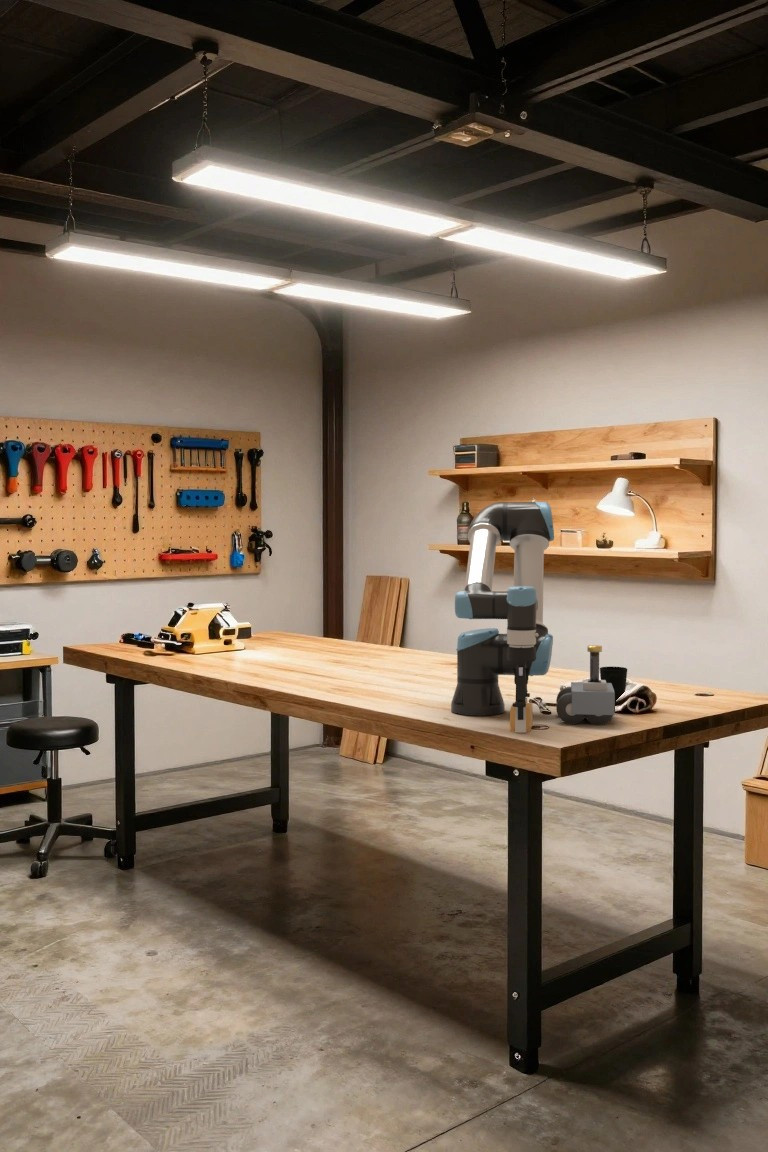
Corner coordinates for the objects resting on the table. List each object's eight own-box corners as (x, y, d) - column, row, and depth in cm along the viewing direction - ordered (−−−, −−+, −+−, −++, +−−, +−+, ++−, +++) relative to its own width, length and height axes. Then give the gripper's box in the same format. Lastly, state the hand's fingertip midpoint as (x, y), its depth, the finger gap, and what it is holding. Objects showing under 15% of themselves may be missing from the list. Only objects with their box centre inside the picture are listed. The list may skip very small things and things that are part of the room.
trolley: (556, 725, 271) (556, 683, 271) (556, 713, 287) (556, 674, 287) (614, 726, 269) (614, 684, 268) (611, 715, 285) (611, 675, 284)
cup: (623, 707, 296) (623, 666, 296) (630, 712, 289) (630, 670, 288) (596, 708, 296) (596, 666, 296) (603, 712, 289) (603, 670, 288)
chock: (510, 731, 264) (510, 708, 264) (513, 724, 273) (513, 702, 273) (529, 732, 263) (529, 708, 263) (532, 725, 272) (532, 702, 272)
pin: (587, 689, 273) (587, 646, 272) (587, 687, 276) (587, 645, 276) (602, 689, 272) (602, 647, 272) (601, 687, 276) (601, 645, 275)
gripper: (535, 651, 254) (535, 737, 255) (537, 640, 279) (536, 718, 280) (504, 651, 255) (504, 736, 256) (509, 640, 280) (509, 717, 281)
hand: (521, 727), depth 268 cm, fingers open, 13 cm apart
